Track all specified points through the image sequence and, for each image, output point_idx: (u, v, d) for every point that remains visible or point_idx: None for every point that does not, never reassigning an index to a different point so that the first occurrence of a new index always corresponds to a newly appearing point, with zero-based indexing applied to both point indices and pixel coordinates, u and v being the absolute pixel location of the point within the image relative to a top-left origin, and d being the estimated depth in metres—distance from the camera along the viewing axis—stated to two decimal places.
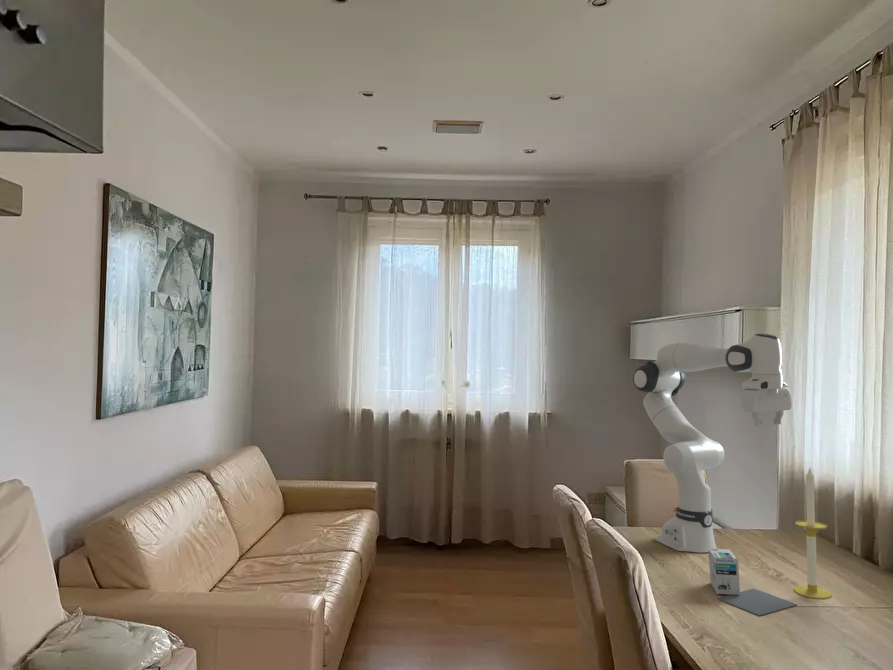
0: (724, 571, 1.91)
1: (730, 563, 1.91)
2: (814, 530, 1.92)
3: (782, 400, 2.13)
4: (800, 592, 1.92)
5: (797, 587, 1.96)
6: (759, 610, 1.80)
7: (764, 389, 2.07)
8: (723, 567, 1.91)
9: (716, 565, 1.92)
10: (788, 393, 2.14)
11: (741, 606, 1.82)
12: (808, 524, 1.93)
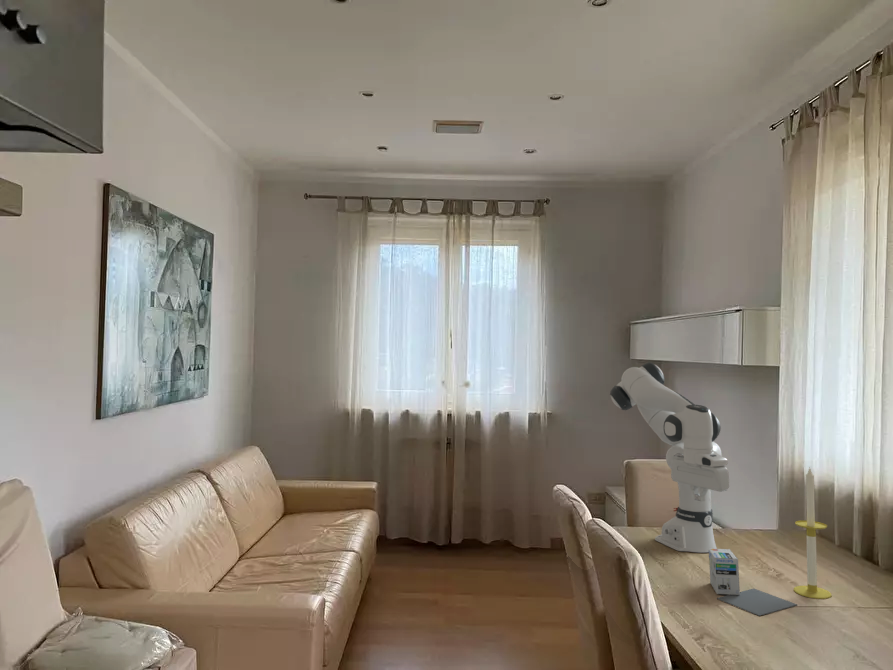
0: (724, 571, 1.91)
1: (730, 563, 1.91)
2: (814, 530, 1.92)
3: None
4: (800, 592, 1.92)
5: (797, 587, 1.96)
6: (759, 610, 1.80)
7: None
8: (723, 567, 1.91)
9: (716, 565, 1.92)
10: None
11: (741, 606, 1.82)
12: (808, 524, 1.93)
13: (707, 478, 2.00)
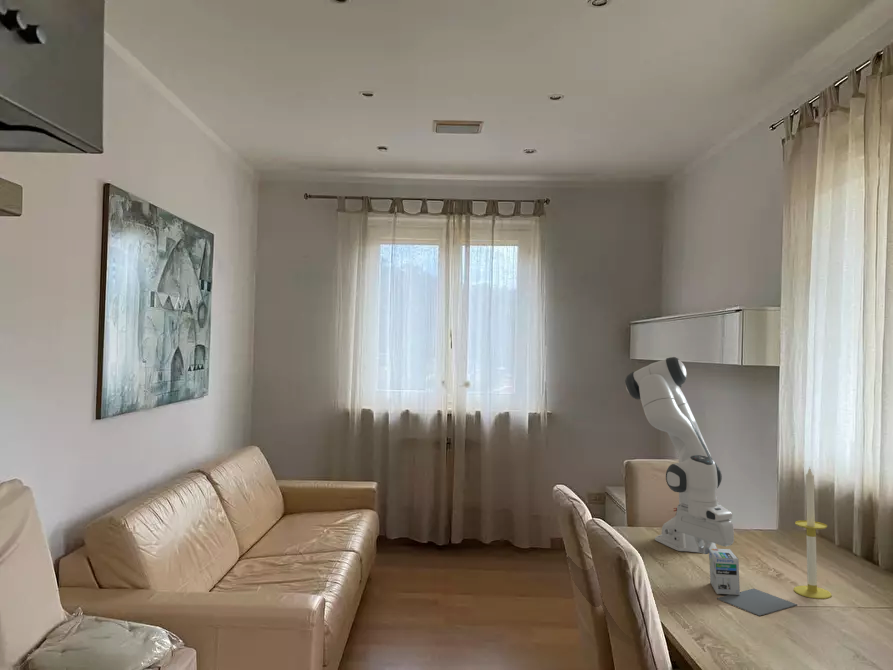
0: (724, 571, 1.91)
1: (730, 563, 1.91)
2: (814, 530, 1.92)
3: None
4: (800, 592, 1.92)
5: (797, 587, 1.96)
6: (759, 610, 1.80)
7: None
8: (723, 567, 1.91)
9: (716, 565, 1.92)
10: None
11: (741, 606, 1.82)
12: (808, 524, 1.93)
13: (711, 532, 1.98)
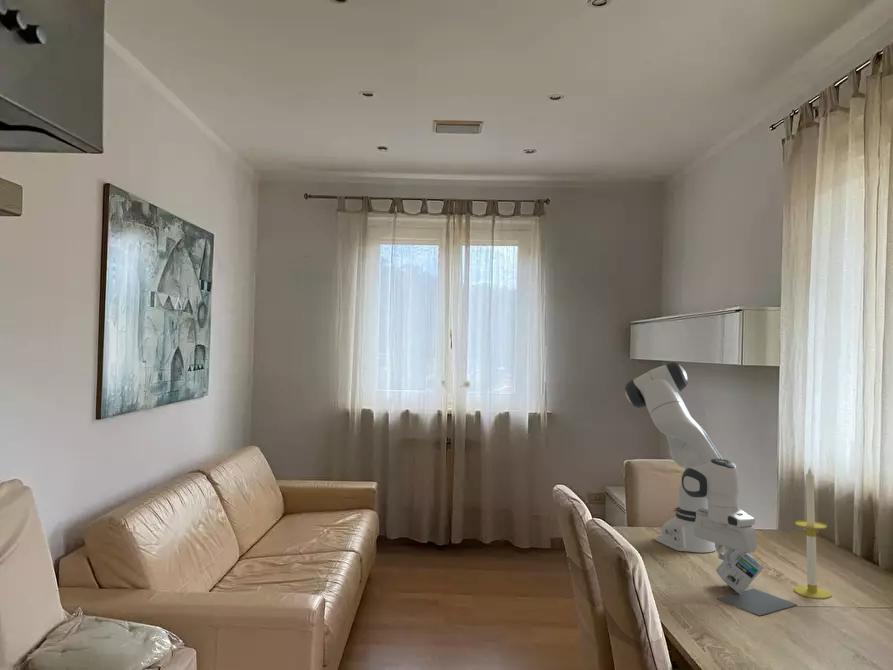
0: (743, 568, 1.90)
1: (754, 566, 1.90)
2: (814, 530, 1.92)
3: None
4: (800, 592, 1.92)
5: (797, 587, 1.96)
6: (759, 610, 1.80)
7: None
8: (745, 564, 1.90)
9: (741, 559, 1.91)
10: None
11: (741, 606, 1.82)
12: (808, 524, 1.93)
13: (733, 538, 1.91)
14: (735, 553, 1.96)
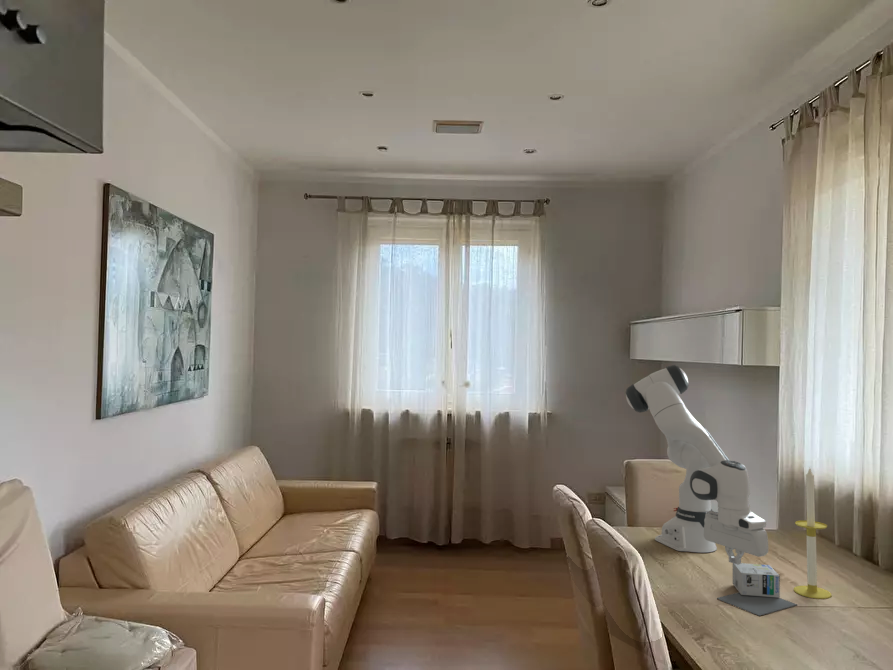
0: (765, 583, 1.89)
1: (774, 589, 1.88)
2: (814, 530, 1.92)
3: None
4: (800, 592, 1.92)
5: (797, 587, 1.96)
6: (759, 610, 1.80)
7: None
8: (769, 582, 1.89)
9: (771, 576, 1.89)
10: None
11: (741, 606, 1.82)
12: (808, 524, 1.93)
13: (744, 541, 1.88)
14: (766, 568, 1.94)
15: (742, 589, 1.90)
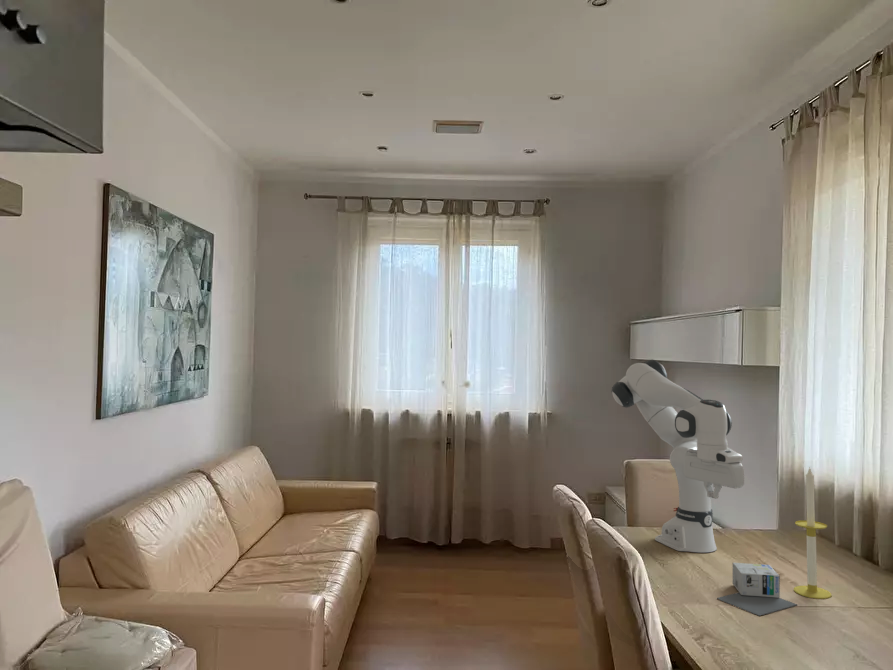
0: (765, 583, 1.89)
1: (774, 590, 1.88)
2: (814, 530, 1.92)
3: None
4: (800, 592, 1.92)
5: (797, 587, 1.96)
6: (759, 610, 1.80)
7: None
8: (769, 582, 1.89)
9: (771, 576, 1.89)
10: None
11: (741, 606, 1.82)
12: (808, 524, 1.93)
13: (721, 475, 1.95)
14: (765, 568, 1.94)
15: (742, 589, 1.90)
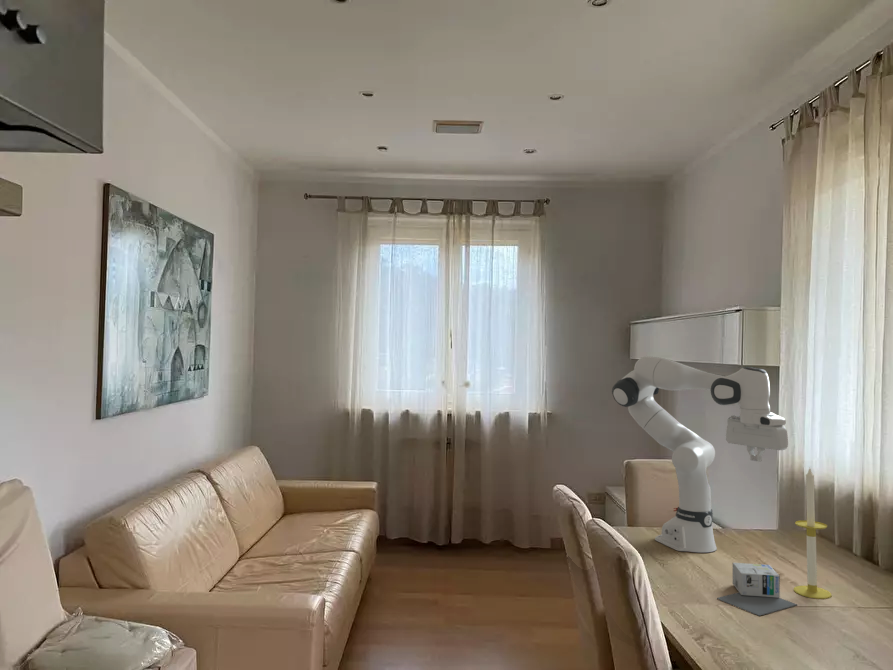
0: (765, 583, 1.89)
1: (774, 590, 1.88)
2: (814, 530, 1.92)
3: None
4: (800, 592, 1.92)
5: (797, 587, 1.96)
6: (759, 610, 1.80)
7: None
8: (769, 582, 1.89)
9: (771, 576, 1.89)
10: None
11: (741, 606, 1.82)
12: (808, 524, 1.93)
13: (765, 438, 2.02)
14: (765, 568, 1.94)
15: (742, 589, 1.90)
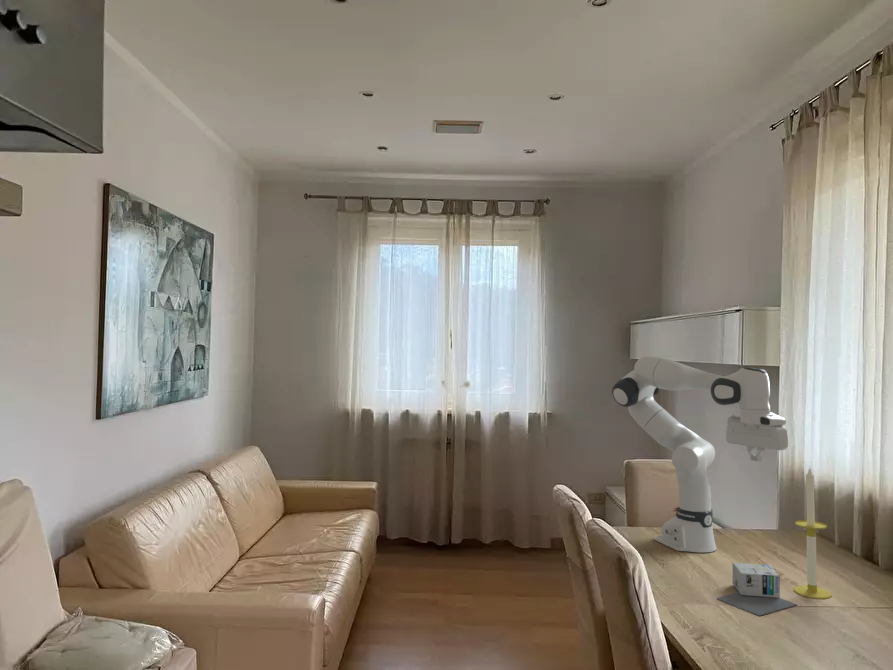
0: (765, 583, 1.89)
1: (774, 590, 1.88)
2: (814, 530, 1.92)
3: None
4: (800, 592, 1.92)
5: (797, 587, 1.96)
6: (759, 610, 1.80)
7: None
8: (769, 582, 1.89)
9: (771, 576, 1.89)
10: None
11: (741, 606, 1.82)
12: (808, 524, 1.93)
13: (765, 438, 2.02)
14: (765, 568, 1.94)
15: (742, 589, 1.90)
